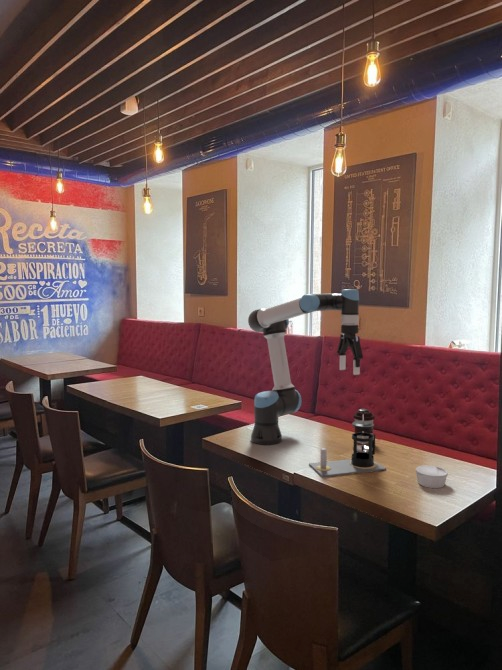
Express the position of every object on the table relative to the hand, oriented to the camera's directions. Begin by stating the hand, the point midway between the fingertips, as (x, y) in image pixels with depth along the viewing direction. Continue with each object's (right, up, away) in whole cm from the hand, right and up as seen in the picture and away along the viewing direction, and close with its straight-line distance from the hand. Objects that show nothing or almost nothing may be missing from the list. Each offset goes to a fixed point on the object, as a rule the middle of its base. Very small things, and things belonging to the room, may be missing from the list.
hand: (349, 372), depth 218 cm
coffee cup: (+11, -35, +19) cm, 41 cm away
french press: (+3, -37, -13) cm, 40 cm away
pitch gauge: (-4, -38, -15) cm, 41 cm away
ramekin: (+24, -40, -32) cm, 57 cm away
